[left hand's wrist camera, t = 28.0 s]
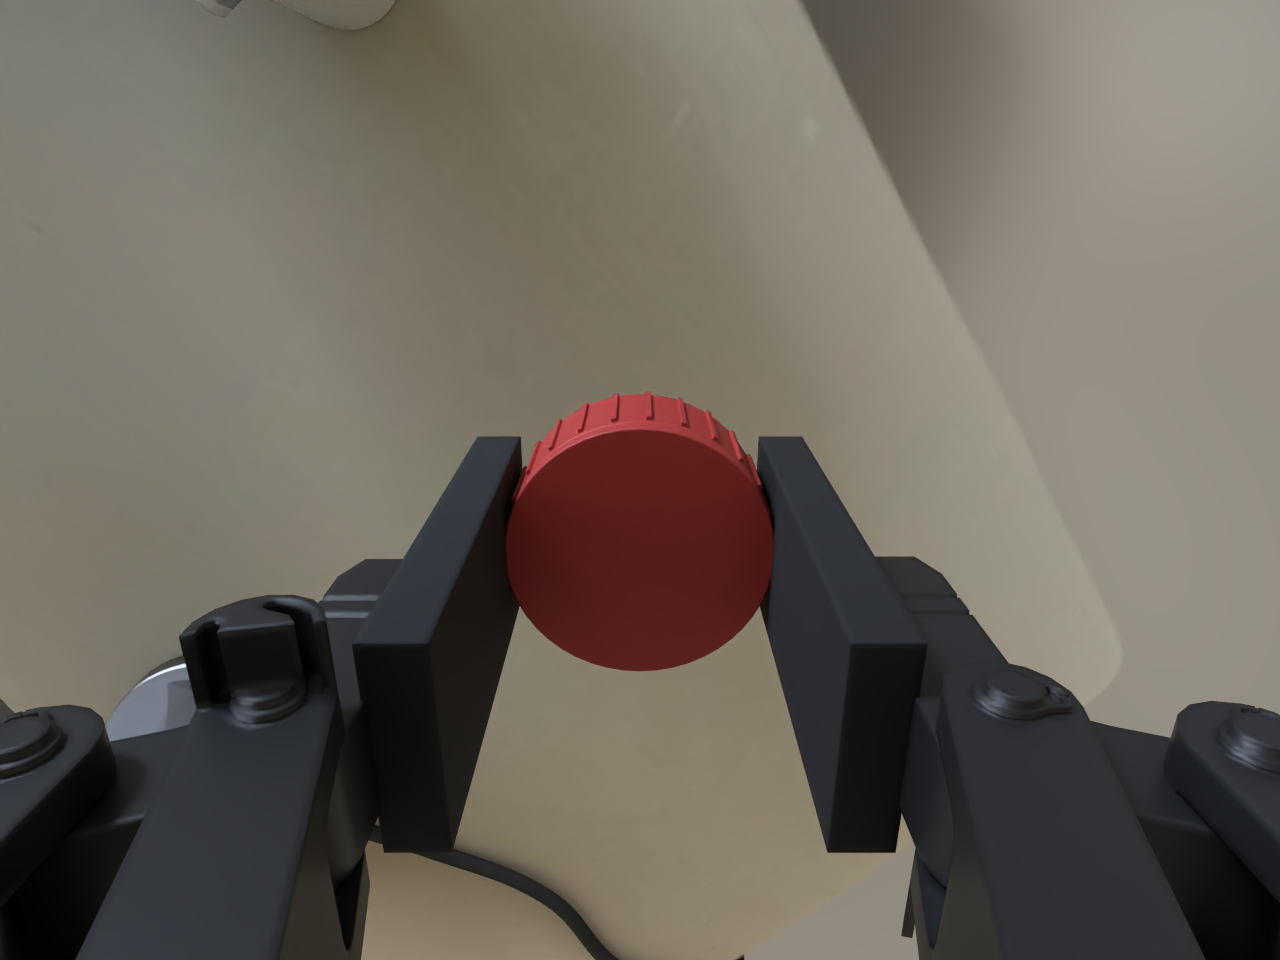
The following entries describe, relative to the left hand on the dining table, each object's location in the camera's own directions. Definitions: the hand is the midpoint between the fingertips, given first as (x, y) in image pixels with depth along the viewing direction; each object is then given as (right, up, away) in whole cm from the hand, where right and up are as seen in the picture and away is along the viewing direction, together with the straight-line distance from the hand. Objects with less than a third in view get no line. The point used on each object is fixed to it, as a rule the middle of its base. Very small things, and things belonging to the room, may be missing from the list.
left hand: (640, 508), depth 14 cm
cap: (0, -1, -2) cm, 2 cm away
